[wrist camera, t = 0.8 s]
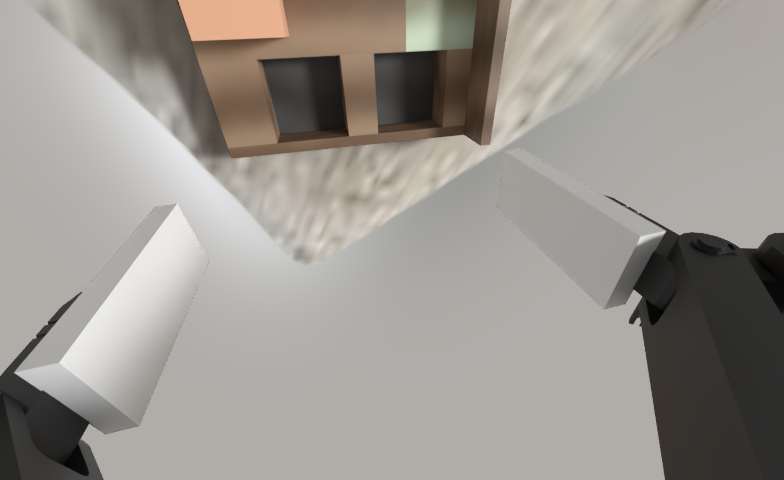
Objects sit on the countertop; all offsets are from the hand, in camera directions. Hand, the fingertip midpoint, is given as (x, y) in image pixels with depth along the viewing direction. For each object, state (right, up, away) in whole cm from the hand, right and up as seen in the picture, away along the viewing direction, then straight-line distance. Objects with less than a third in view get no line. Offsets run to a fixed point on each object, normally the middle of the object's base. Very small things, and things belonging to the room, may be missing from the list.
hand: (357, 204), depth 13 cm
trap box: (-3, +18, +17) cm, 25 cm away
